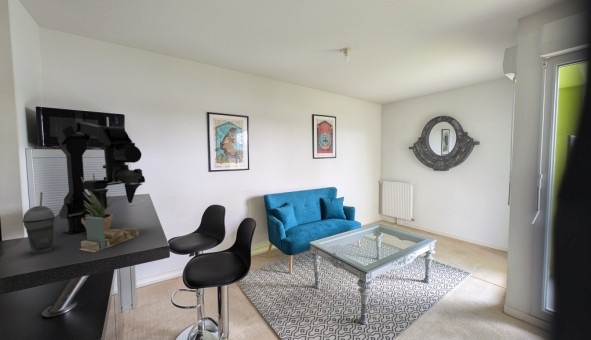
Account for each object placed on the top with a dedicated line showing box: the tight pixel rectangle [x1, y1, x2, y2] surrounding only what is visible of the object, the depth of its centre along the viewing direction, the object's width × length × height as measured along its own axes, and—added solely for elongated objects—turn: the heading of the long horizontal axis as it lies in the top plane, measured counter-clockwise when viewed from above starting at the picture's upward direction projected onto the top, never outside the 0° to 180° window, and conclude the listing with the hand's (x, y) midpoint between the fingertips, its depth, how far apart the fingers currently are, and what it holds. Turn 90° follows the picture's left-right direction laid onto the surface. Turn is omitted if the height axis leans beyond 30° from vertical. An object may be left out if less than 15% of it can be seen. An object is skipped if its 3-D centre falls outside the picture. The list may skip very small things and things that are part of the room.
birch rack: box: [79, 227, 140, 253], centre depth 88 cm, size 16×7×4 cm, turn 162°
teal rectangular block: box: [85, 215, 107, 250], centre depth 82 cm, size 2×6×10 cm, turn 72°
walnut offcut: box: [109, 235, 126, 246], centre depth 88 cm, size 5×6×2 cm
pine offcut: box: [104, 228, 124, 239], centre depth 87 cm, size 4×5×2 cm
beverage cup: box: [22, 191, 56, 255], centre depth 80 cm, size 7×7×20 cm
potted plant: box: [81, 172, 114, 231], centre depth 97 cm, size 10×10×25 cm
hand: (118, 205), depth 91 cm, fingers open, 9 cm apart
